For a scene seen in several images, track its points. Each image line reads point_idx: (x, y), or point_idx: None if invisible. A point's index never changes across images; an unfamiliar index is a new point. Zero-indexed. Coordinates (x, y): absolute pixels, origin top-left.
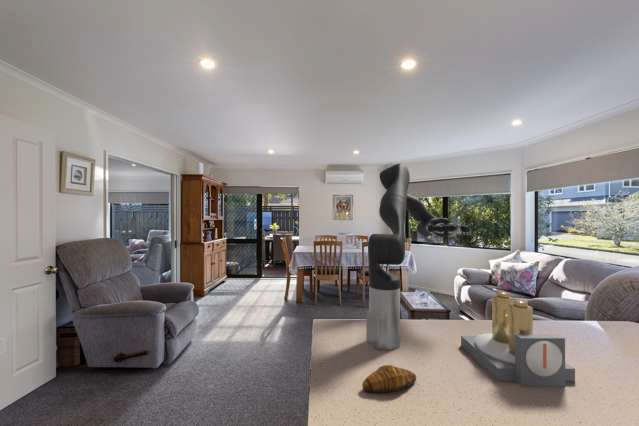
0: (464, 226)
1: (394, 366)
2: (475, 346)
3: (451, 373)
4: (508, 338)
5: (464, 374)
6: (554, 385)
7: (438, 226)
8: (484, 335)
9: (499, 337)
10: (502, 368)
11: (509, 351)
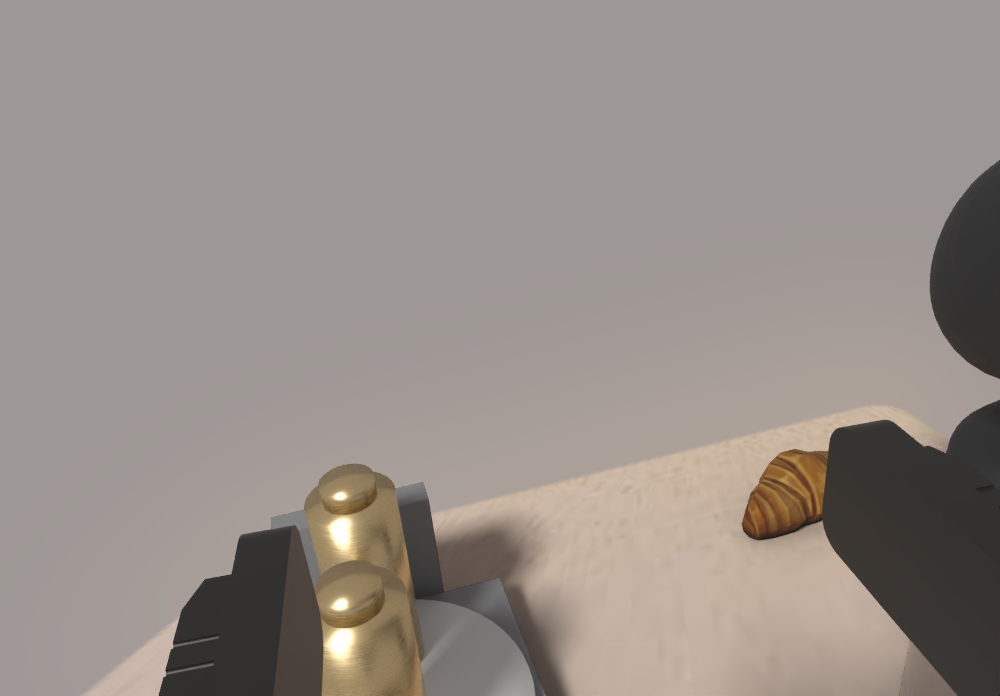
0: (289, 581)
1: (800, 474)
2: None
3: (644, 606)
4: None
5: (602, 613)
6: None
7: (982, 513)
8: None
9: None
10: (485, 581)
11: (423, 644)
